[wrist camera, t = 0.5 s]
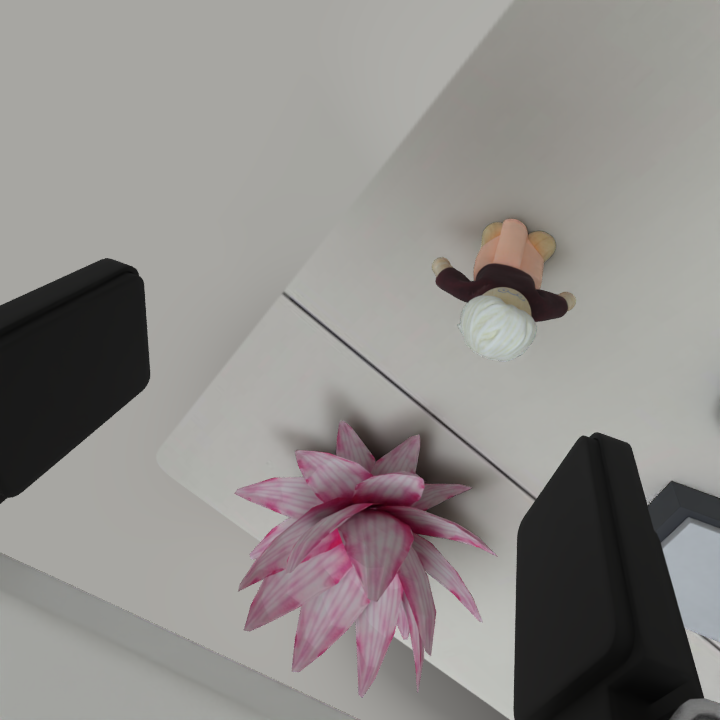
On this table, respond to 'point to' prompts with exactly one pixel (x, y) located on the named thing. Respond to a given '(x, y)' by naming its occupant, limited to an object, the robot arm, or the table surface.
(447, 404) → the table surface
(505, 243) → the grandmother figurine
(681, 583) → the scale
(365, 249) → the table surface
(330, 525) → the decorative flower
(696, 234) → the table surface
